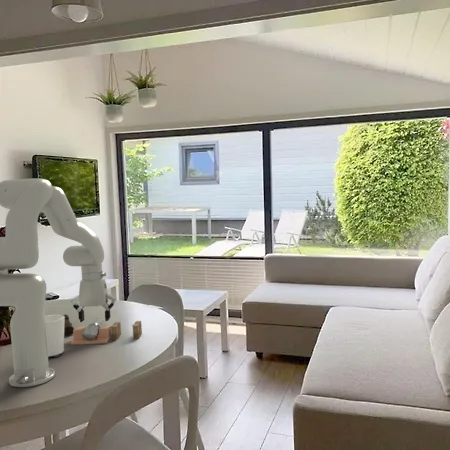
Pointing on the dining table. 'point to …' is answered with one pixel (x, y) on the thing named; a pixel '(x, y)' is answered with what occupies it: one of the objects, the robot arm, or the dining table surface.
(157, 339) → the dining table surface
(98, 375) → the dining table surface
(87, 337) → the axle
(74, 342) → the cradle
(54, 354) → the cup
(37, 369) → the robot arm
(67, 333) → the hand tool
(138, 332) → the channel block
